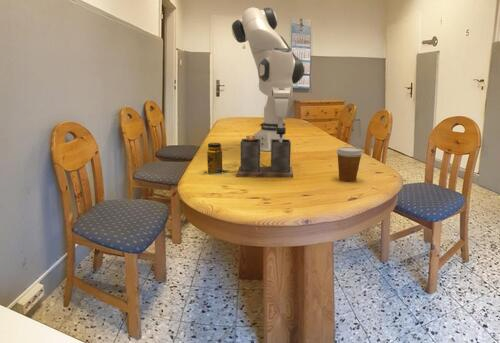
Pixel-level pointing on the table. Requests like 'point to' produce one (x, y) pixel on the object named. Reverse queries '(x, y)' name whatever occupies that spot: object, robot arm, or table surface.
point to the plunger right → (281, 132)
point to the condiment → (215, 159)
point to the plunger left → (250, 138)
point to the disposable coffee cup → (348, 163)
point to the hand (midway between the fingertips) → (280, 127)
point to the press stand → (278, 160)
